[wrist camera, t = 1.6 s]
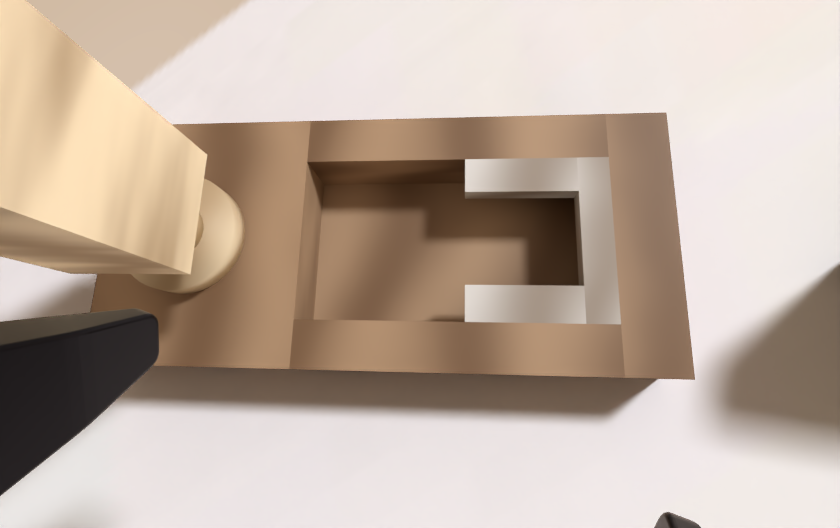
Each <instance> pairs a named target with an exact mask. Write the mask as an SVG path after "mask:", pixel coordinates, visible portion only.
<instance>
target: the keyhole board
mask: <svg viewBox="0 0 840 528" xmlns="http://www.w3.org/2000/svg"><path fill="white" fill-rule="evenodd" d="M173 126H174V127H175V128H176V129H178V130H179V131H180V132H181V133H182V134H183V135H185V136H186V137H187V138H188V139H189V140H191V141H192V142H193V143H194V144H195V145H196V146H198V147H199V148H200V149H201V150H202V151H203V152H205V153H206V154H207V160H206V167H205V175H204V179H207V180H209V181H211V182H212V183H214V184H215V185H216V186H218V187H219V188H220V189H222V190H223V191H224V192H226V193H227V194H228V195H229V196H230V197H232V198H233V200H234V201H235V202H236V203H237V205H238V207H239V208H240V210H241V213H242V215H243V219H244V225H245V238H244V244H243V247H242V250H241V253H240V255H239V257H238V259H237V261H236V263H235V264H234V266H233V267H232V268H231V270H230V271H229V272H228V273H227V274H226V275H225V276H224V277H223V278H222V279H221V280H219V281H218V282H217V283H215V284H214V285H212V286H210V287H208V288H206V289H204V290H201V291H198V292H194V293H188V294H177V293H171V292H167V291H163V290H159V289H155V288H152V287H149V286H147V285H144V284H143V283H141V282H139V281H138V280H137V279H135V278H134V277H133V276H132V275H131V274H97V279H96V284H95V290H94V295H93V300H92V306H91V311H90V313H92V312H102V311H112V310H121V309H131V308H136V309H141V310H143V311H146V312H149V313H151V314H153V315H155V316H156V317H157V319H158V323H159V355H158V358H157V360H156V362H155V363H154V365H153V366H186V367H225V368H264V369H303V370H342V371H380V372H419V373H458V374H497V375H536V376H575V377H613V378H652V379H691V380H695V376H694V366H693V357H692V348H691V339H690V329H689V320H688V311H687V301H686V292H685V283H684V273H683V264H682V255H681V245H680V236H679V227H678V217H677V208H676V199H675V189H674V180H673V171H672V161H671V152H670V143H669V134H668V124H667V115H666V113H633V114H591V115H549V116H508V117H466V118H424V119H382V120H341V121H299V122H257V123H216V124H174V125H173Z"/></svg>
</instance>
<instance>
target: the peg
mask: <svg viewBox="0 0 840 528" xmlns="http://www.w3.org/2000/svg"><path fill="white" fill-rule="evenodd" d="M206 160H207V154H206V153H205V152H203V151H202V150H201V149H200V148H199V147H198V146H196V145H195V144H194V143H193V142H192V141H191V140H189V139H188V138H187V137H186V136H185V135H183V134H182V133H181V132H180V131H179V130H178V129H176V128H175V127H174V126H173V125H172V124H171V123H169V122H168V121H167V120H166V119H165V118H163V117H162V116H161V115H160V114H159V113H158V112H156V111H155V110H154V109H153V108H152V107H151V106H149V105H148V104H147V103H146V102H145V101H143V100H142V99H141V98H140V97H139V96H138V95H136V94H135V93H134V92H133V91H132V90H131V89H129V88H128V87H127V86H126V85H124V84H123V83H122V82H121V81H120V80H119V79H118V78H116V77H115V76H114V75H113V74H112V73H111V72H109V71H108V70H107V69H106V68H105V67H104V66H102V65H101V64H100V63H99V62H98V61H96V60H95V59H94V58H93V57H92V56H91V55H89V54H88V53H87V52H86V51H85V50H83V49H82V48H81V47H80V46H79V45H77V44H76V43H75V42H74V41H73V40H72V39H71V38H69V37H68V36H67V35H66V34H65V33H63V32H62V31H61V30H60V29H59V28H57V27H56V26H55V25H54V24H53V23H52V22H51V21H49V20H48V19H47V18H46V17H45V16H44V15H42V14H41V13H40V12H39V11H38V10H36V9H35V8H34V7H33V6H32V5H31V4H29V3H28V2H27V1H26V0H0V256H1V257H5V258H9V259H13V260H17V261H21V262H25V263H29V264H34V265H38V266H42V267H46V268H50V269H54V270H58V271H62V272H66V273H70V274H131V275H132V276H133V277H134V278H135V279H137V280H138V281H139V282H141V283H143V284H144V285H147V286H149V287H152V288H155V289H159V290H163V291H167V292H171V293H177V294H188V293H194V292H198V291H201V290H204V289H206V288H208V287H210V286H212V285H214V284H215V283H217V282H218V281H219V280H221V279H222V278H223V277H224V276H225V275H226V274H227V273H228V272H229V271H230V270H231V268H232V267H233V266H234V264H235V263H236V261H237V259H238V257H239V255H240V253H241V250H242V247H243V244H244V238H245V225H244V219H243V215H242V213H241V210H240V208H239V207H238V205H237V203H236V202H235V201H234V200H233V198H232V197H230V196H229V195H228V194H227V193H226V192H224V191H223V190H222V189H220V188H219V187H218V186H216V185H215V184H214V183H212V182H211V181H209V180H207V179H204V175H205V167H206Z"/></svg>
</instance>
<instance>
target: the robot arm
mask: <svg viewBox="0 0 840 528" xmlns="http://www.w3.org/2000/svg"><path fill="white" fill-rule="evenodd" d="M158 355H159V323H158V319H157V317H156V316H155V315H153V314H151V313H149V312H146V311H143V310H141V309H136V308H131V309H121V310H112V311H102V312H92V313H82V314H72V315H63V316H53V317H43V318H33V319H23V320H14V321H4V322H0V496H1V495H2V494H3V493H5V492H6V491H7V490H8V489H10V488H11V487H12V486H13V485H15V484H16V483H17V482H18V481H20V480H21V479H22V478H24V477H25V476H26V475H27V474H29V473H30V472H31V471H32V470H34V469H35V468H36V467H37V466H39V465H40V464H41V463H42V462H44V461H45V460H46V459H47V458H49V457H50V456H51V455H52V454H54V453H55V452H56V451H57V450H59V449H60V448H61V447H62V446H64V445H65V444H66V443H67V442H69V441H70V440H71V439H73V438H74V437H75V436H76V435H77V434H79V433H80V432H81V431H82V430H83V429H85V428H86V427H87V426H88V425H89V424H90V423H92V422H93V421H94V420H95V419H96V418H97V417H98V416H99V415H100V414H101V413H103V412H104V411H105V410H106V409H107V408H108V407H109V406H110V405H111V404H112V403H113V402H114V401H115V400H116V399H118V398H119V397H120V396H121V395H122V394H123V393H124V392H125V391H126V390H127V389H128V388H129V387H130V386H131V385H133V384H134V383H135V382H136V381H137V380H138V379H139V378H140V377H141V376H142V375H143V374H144V373H145V372H146V371H148V370H149V369H150V368H151V367H152V366H153V365H154V363H155V362H156V360H157V358H158ZM654 528H701V527H700V526H699V525H698V524H697V523H695V522H693V521H691V520H688V519H686V518H683V517H681V516H678V515H675V514H673V513H670V512H667V513H663V514H662V515H661V516H660V518H659V519H658V521H657V523H656V525H655V527H654Z"/></svg>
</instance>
